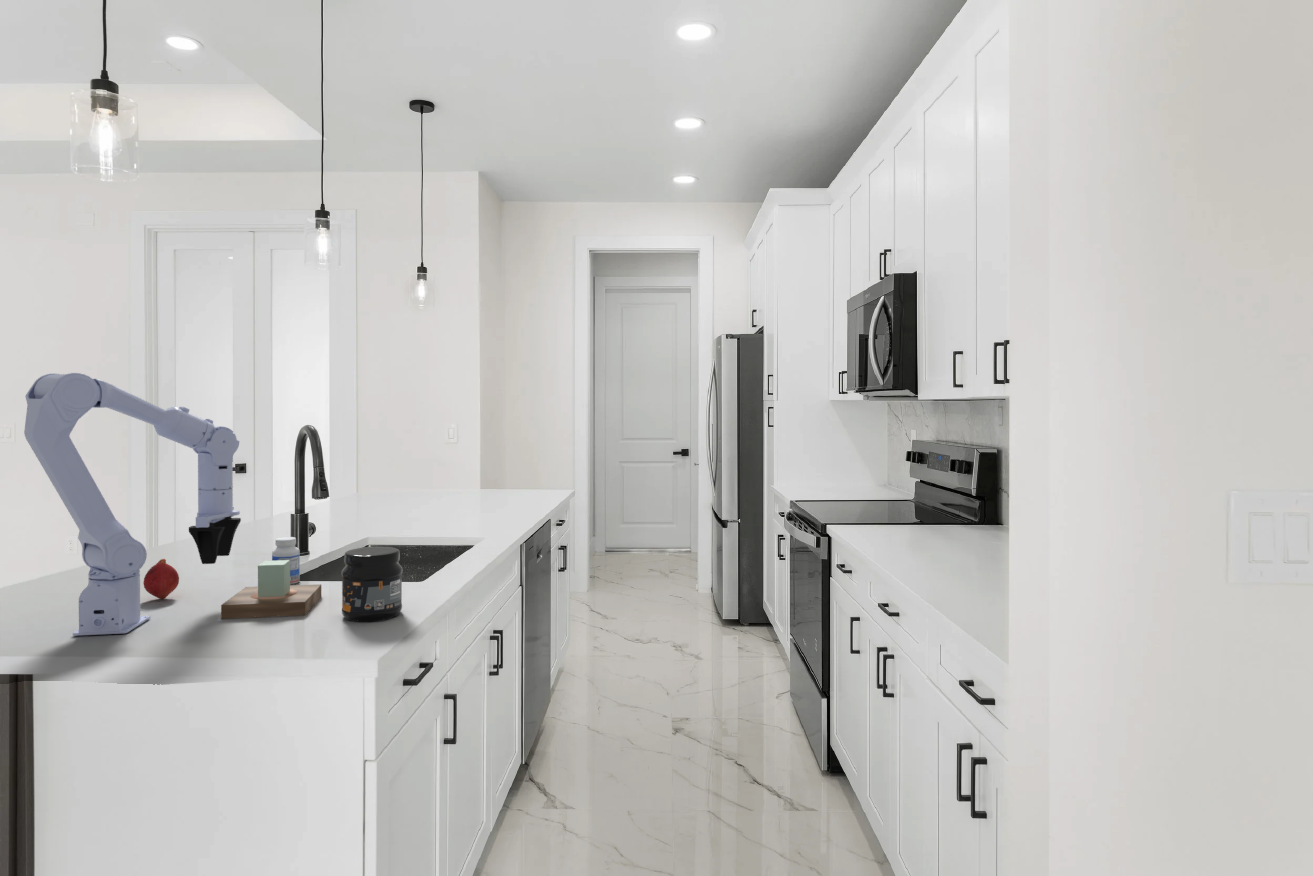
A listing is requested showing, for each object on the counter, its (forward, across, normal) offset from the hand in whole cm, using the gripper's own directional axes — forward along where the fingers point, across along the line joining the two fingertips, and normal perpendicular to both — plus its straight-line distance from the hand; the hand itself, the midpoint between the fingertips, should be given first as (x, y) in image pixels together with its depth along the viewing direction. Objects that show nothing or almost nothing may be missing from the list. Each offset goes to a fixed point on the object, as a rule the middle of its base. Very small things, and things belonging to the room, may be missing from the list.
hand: (216, 559), depth 143 cm
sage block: (+6, -3, -11) cm, 13 cm away
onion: (+9, +7, +12) cm, 17 cm away
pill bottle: (+9, +18, -8) cm, 22 cm away
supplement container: (+9, -12, -30) cm, 34 cm away
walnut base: (+9, -3, -11) cm, 14 cm away
